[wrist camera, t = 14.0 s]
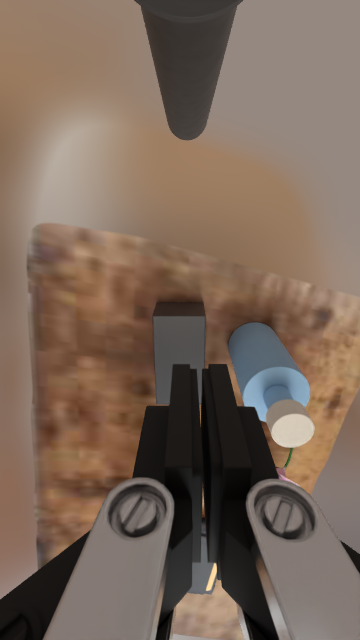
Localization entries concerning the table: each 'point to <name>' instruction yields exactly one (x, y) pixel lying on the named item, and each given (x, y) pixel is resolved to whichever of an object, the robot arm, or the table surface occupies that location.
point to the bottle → (271, 383)
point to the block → (177, 343)
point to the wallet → (203, 570)
